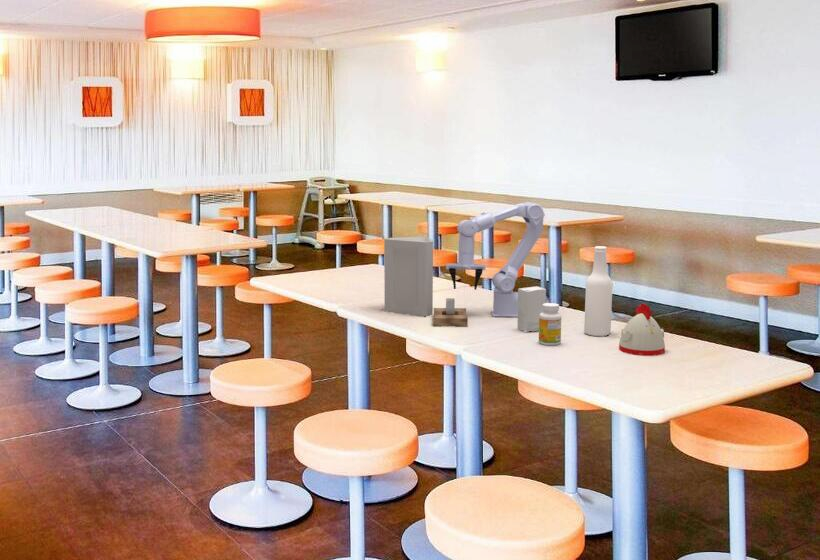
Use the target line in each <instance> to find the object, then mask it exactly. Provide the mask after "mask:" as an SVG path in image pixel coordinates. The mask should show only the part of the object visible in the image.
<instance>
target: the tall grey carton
mask: <svg viewBox="0 0 820 560" xmlns="http://www.w3.org/2000/svg"><path fill="white" fill-rule="evenodd" d="M383 243H384V247H383V248H384V252H383V253H384V258H383V259H384V263H383V264H384V266H383V267H384V269H383V270H384V312H385V311H388V312H387V313H390V312H394V313H393V314H398V313H402V314H401V315H406V314H409V315H408V316H414V315H417V316H416V317H421V316H429V317H431V316H434V307H433V298H434V297H433V292H434V290H433V289H434V288H433V287H434V286H433V285H434V240H432V239H431V238H430V237H429V236H407V237H405V236H404V237H401V236H400V237H387V238H384V242H383ZM430 315H431V316H430Z"/></svg>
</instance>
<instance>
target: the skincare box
mask: <svg viewBox="0 0 820 560" xmlns="http://www.w3.org/2000/svg"><path fill="white" fill-rule="evenodd" d="M517 292H518V317H517V330H519V329H520V330H519V331H521V330H523V331H522V332H524V331H526V332H525V333H530V332H529V331H532V332H539V315H540V313H542V312H543V310H542V306H543V304H545V303H547V289H546V288H543V287H540V286H539V285H538V286H530V287H529V286H527V287H522V288H521V287H519V288H517Z"/></svg>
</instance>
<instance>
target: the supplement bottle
mask: <svg viewBox="0 0 820 560" xmlns="http://www.w3.org/2000/svg"><path fill="white" fill-rule="evenodd" d="M542 310H543V312H542V313H540V315H539V331H538V343H539V344H540V345H542V346H543V345H544V346H558V345H560V344H561V342H562V315H561V313H559V310H560V304H558V303H555V302H554V303H553V302H546V303H545V304H543V306H542Z"/></svg>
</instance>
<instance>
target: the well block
mask: <svg viewBox="0 0 820 560" xmlns="http://www.w3.org/2000/svg"><path fill="white" fill-rule="evenodd" d="M468 324H469V323H468V312H467V308H466V307H465V308H463V307H460V308H459V307H455V311H454V315H446V307H433V327H441V326H455V327H454V328H456V327H459V328H461V327H463V328H465V327H466V328H468Z"/></svg>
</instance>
